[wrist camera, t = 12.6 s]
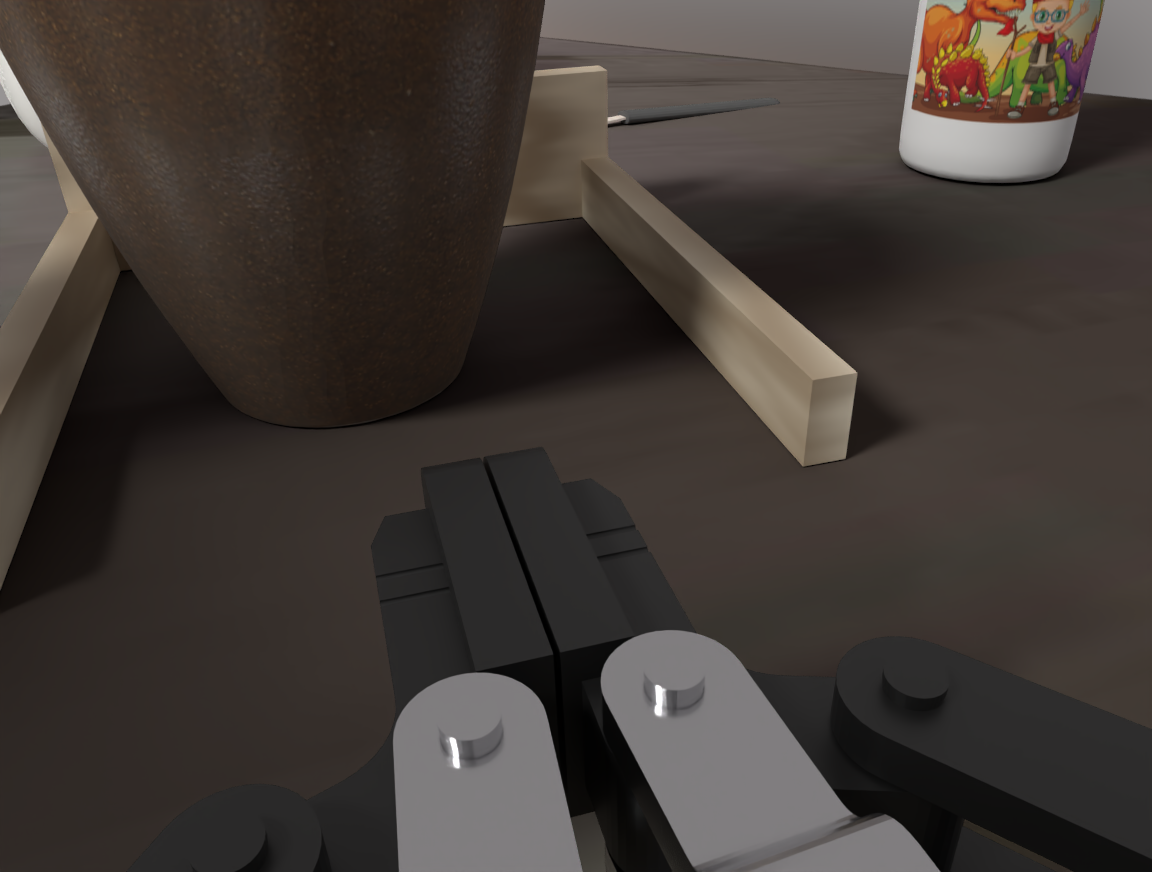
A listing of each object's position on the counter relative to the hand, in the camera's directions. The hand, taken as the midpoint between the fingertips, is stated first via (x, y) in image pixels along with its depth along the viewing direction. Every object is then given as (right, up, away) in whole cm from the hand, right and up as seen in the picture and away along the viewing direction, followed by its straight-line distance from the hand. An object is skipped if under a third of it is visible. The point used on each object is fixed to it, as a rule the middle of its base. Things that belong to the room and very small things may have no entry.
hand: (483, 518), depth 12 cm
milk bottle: (+21, +14, +35) cm, 43 cm away
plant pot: (-6, +3, +18) cm, 19 cm away
